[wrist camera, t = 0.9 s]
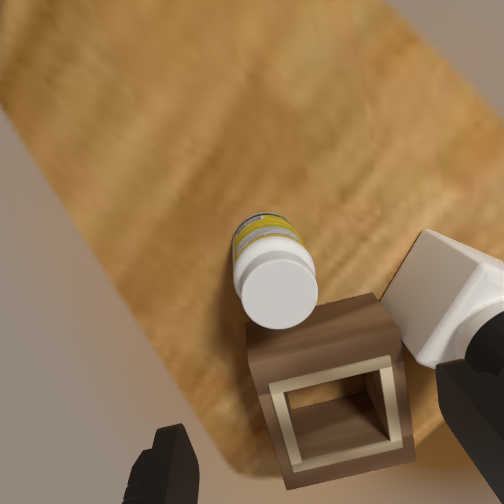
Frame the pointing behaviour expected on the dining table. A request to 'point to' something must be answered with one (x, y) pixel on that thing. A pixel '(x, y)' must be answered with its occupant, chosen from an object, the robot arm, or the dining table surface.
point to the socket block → (339, 410)
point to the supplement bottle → (273, 272)
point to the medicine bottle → (449, 304)
